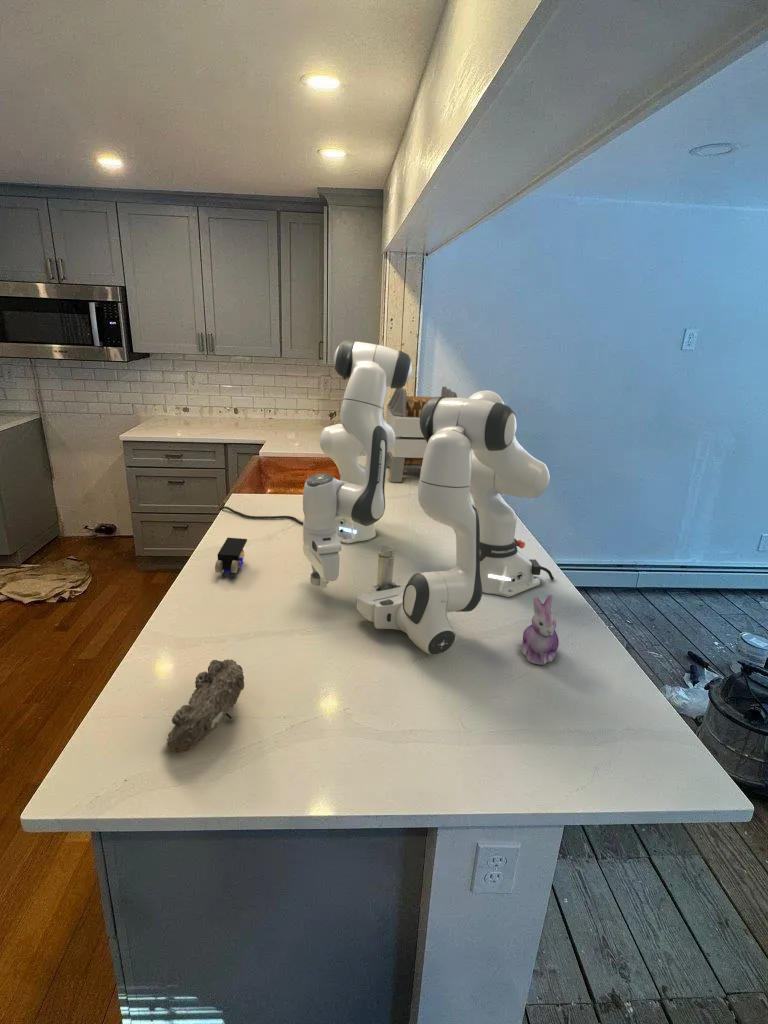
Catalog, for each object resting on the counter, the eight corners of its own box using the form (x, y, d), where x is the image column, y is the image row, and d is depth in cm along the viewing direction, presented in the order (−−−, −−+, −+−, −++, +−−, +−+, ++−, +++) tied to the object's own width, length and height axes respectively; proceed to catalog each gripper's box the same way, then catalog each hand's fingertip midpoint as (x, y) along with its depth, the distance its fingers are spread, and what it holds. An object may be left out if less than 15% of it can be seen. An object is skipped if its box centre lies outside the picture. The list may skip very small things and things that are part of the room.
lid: (313, 587, 151) (313, 580, 151) (308, 579, 156) (308, 572, 155) (331, 584, 153) (331, 577, 153) (325, 576, 158) (325, 570, 157)
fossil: (192, 660, 117) (244, 628, 112) (224, 691, 120) (276, 661, 115) (142, 746, 98) (202, 712, 93) (182, 779, 101) (242, 748, 96)
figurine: (539, 671, 126) (548, 612, 121) (509, 647, 135) (517, 591, 130) (570, 661, 130) (580, 603, 125) (539, 638, 139) (548, 583, 134)
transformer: (382, 463, 289) (386, 382, 275) (445, 464, 293) (451, 384, 279) (390, 482, 257) (394, 392, 243) (460, 483, 261) (468, 394, 247)
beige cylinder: (382, 600, 154) (385, 544, 149) (394, 605, 152) (397, 548, 146) (372, 605, 151) (375, 548, 146) (384, 610, 149) (387, 553, 143)
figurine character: (238, 584, 162) (249, 557, 175) (236, 562, 158) (247, 536, 172) (215, 584, 161) (227, 556, 175) (212, 561, 158) (225, 535, 171)
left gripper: (297, 523, 158) (298, 568, 162) (320, 551, 140) (319, 600, 145) (319, 520, 160) (319, 565, 165) (344, 547, 143) (343, 596, 147)
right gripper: (444, 591, 142) (417, 569, 154) (371, 607, 133) (348, 582, 145) (442, 613, 145) (415, 590, 156) (370, 630, 136) (347, 604, 147)
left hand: (319, 582), depth 155 cm, fingers closed on lid, 4 cm apart
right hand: (382, 586), depth 150 cm, fingers closed on beige cylinder, 4 cm apart
